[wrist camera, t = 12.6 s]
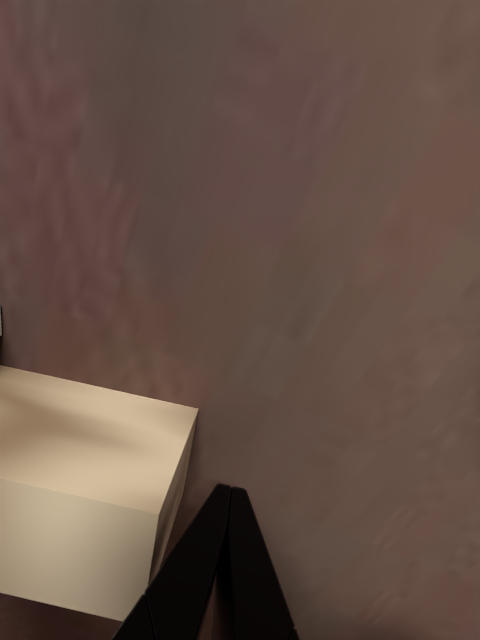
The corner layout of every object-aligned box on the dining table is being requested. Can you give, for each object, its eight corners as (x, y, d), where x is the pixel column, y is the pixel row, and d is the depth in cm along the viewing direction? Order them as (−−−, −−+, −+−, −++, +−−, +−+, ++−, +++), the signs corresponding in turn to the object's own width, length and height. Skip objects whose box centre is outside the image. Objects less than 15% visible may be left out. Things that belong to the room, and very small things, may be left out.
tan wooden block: (-77, 427, 11) (-260, 531, 7) (-88, 341, 10) (-310, 408, 6) (185, 486, 11) (141, 625, 7) (199, 405, 10) (158, 514, 6)
